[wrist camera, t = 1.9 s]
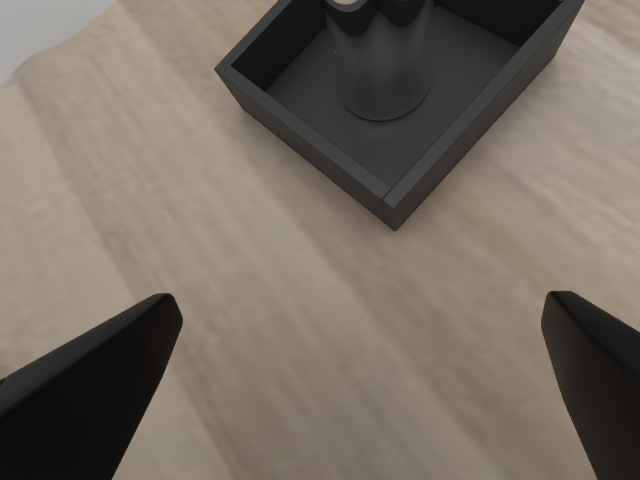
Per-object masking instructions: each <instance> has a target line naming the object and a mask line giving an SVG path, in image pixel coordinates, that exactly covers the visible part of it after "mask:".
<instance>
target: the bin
mask: <svg viewBox="0 0 640 480" xmlns="http://www.w3.org/2000/svg"><path fill="white" fill-rule="evenodd" d="M584 1H585V0H438V2H437V5H436V9H435V12H434V15H433V19H432V23H431V26H430V31H429V37H428V52H429V57H430V63H431V69H432V79H431V84H430V87H429V90H428V92H427V94H426V96H425V97H424V99H423V100H422V101H421V102H420V103H419V105H417V106H416V107H415V108H414V109H413V110H411V111H410V112H408V113H407V114H405V115H403V116H400V117H398V118H394V119H390V120H384V121H375V120H368V119H364V118H362V117H359V116H357V115H356V114H354V113H353V112H351V111H350V110H349V109H348V108H347V107H346V106H345V104H344V103H343V101H342V99H341V97H340V94H339V89H338V60H337V55H336V52H335V49H334V46H333V44H332V42H331V40H330V37H329V35H328V33H327V31H326V29H325V27H324V25H323V23H322V22H321V20H320V18H319V16H318V14H317V12H316V10H315V7H314V5H313V3H312V1H311V0H278V1H277V3H276V4H275V5H274V6H273V7H272V8H271V9H270V10H269V11H268V12H267V13H266V14H265V15H264V16H263V17H262V18H261V19H260V21H259V22H258V23H257V24H256V25H255V26H254V27H253V28H252V29H251V30H250V31H249V32H248V33H247V34H246V35H245V36H244V37H243V38H242V40H241V41H240V42H239V43H238V44H237V45H236V46H235V47H234V48H233V49H232V50H231V51H230V52H229V53H228V54H227V55H226V56H225V58H224V59H223V60H222V61H221V62H220V63H219V64H218V65H217V66H216V67H215V68H214V70H215V71H216V73H217V74H218V75H219V77H220V78H221V79H222V81H223V82H224V84H225V85H226V86H227V88H228V89H229V90H230V92H231V93H232V95H233V96H234V97H235V99H236V100H237V102H238V103H239V104H240V106H241V107H242V108H243V109H244V110H245V111H246V112H248V113H249V114H250V115H251V116H253V117H254V118H255V119H256V120H258V121H259V122H260V123H261V124H263V125H264V126H265V127H266V128H267V129H269V130H270V131H271V132H272V133H274V134H275V135H276V136H277V137H279V138H280V139H281V140H282V141H284V142H285V143H286V144H287V145H289V146H290V147H291V148H292V149H294V150H295V151H296V152H297V153H299V154H300V155H301V156H302V157H303V158H305V159H306V160H307V161H308V162H310V163H311V164H312V165H313V166H315V167H316V168H317V169H318V170H320V171H321V172H322V173H323V174H325V175H326V176H327V177H328V178H330V179H331V180H332V181H333V182H335V183H336V184H337V185H338V186H339V187H341V188H342V189H343V190H344V191H346V192H347V193H348V194H349V195H351V196H352V197H353V198H354V199H356V200H357V201H358V202H359V203H361V204H362V205H363V206H364V207H366V208H367V209H368V210H369V211H371V212H372V213H373V214H374V215H375V216H377V217H378V218H379V219H380V220H382V221H383V222H384V223H385V224H387V225H388V226H389V227H390V228H392V229H393V230H394V231H397V229H398V228H399V227H400V226H401V225H402V224H403V223H404V222H405V221H406V220H407V218H408V217H409V216H410V215H411V214H412V213H413V212H414V211H415V210H416V208H417V207H418V206H419V205H420V204H421V203H422V202H423V201H424V200H425V199H426V197H427V196H428V195H429V194H430V193H431V192H432V191H433V190H434V189H435V188H436V186H437V185H438V184H439V183H440V182H441V181H442V180H443V179H444V178H445V177H446V175H447V174H448V173H449V172H450V171H451V170H452V169H453V168H454V167H455V165H456V164H457V163H458V162H459V161H460V160H461V159H462V158H463V157H464V156H465V154H466V153H467V152H468V151H469V150H470V149H471V148H472V147H473V146H474V145H475V143H476V142H477V141H478V140H479V139H480V138H481V137H482V136H483V135H484V134H485V132H486V131H487V130H488V129H489V128H490V127H491V126H492V125H493V124H494V122H495V121H496V120H497V119H498V118H499V117H500V116H501V115H502V114H503V113H504V111H505V110H506V109H507V108H508V107H509V106H510V105H511V104H512V103H513V102H514V100H515V99H516V98H517V97H518V96H519V95H520V94H521V93H522V92H523V91H524V89H525V88H526V87H527V86H528V85H529V84H530V83H531V82H532V81H533V79H534V78H535V77H536V76H537V75H538V74H539V73H540V72H541V71H542V70H543V68H544V67H545V66H546V65H547V64H548V63H549V62H550V61H551V60H552V59H553V57H554V56H555V54H556V52H557V50H558V48H559V47H560V45H561V43H562V41H563V39H564V37H565V36H566V34H567V32H568V30H569V28H570V26H571V25H572V23H573V21H574V19H575V17H576V16H577V14H578V12H579V10H580V8H581V6H582V5H583V3H584Z"/></svg>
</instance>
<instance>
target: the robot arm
mask: <svg viewBox="0 0 640 480" xmlns="http://www.w3.org/2000/svg"><path fill="white" fill-rule="evenodd" d="M182 324H183V317H182V314H181V312H180V310H179V307H178V305H177V303H176V301H175V298H174V297H173V296H172V295H171V294H169V293H158V294H154V295H152V296H150V297H149V298H147V299H145V300H143V301H141V302H140V303H138V304H136V305H134V306H132V307H131V308H129V309H127V310H125V311H123V312H122V313H120V314H118V315H116V316H114V317H113V318H111V319H109V320H107V321H105V322H104V323H102V324H100V325H98V326H96V327H95V328H93V329H91V330H89V331H87V332H86V333H84V334H82V335H80V336H78V337H77V338H75V339H73V340H71V341H69V342H68V343H66V344H64V345H62V346H60V347H59V348H57V349H55V350H53V351H51V352H50V353H48V354H46V355H44V356H42V357H41V358H39V359H37V360H35V361H33V362H32V363H30V364H28V365H26V366H24V367H23V368H21V369H19V370H17V371H16V372H14V373H12V374H10V375H8V376H7V378H3V379H1V380H0V480H112V478H113V476H114V474H115V472H116V470H117V468H118V466H119V464H120V462H121V460H122V458H123V456H124V454H125V452H126V450H127V448H128V446H129V444H130V442H131V440H132V438H133V436H134V434H135V432H136V430H137V428H138V426H139V424H140V422H141V420H142V417H143V415H144V413H145V411H146V409H147V407H148V405H149V403H150V401H151V399H152V397H153V395H154V393H155V391H156V389H157V387H158V385H159V383H160V381H161V379H162V377H163V374H164V372H165V369H166V367H167V364H168V361H169V359H170V356H171V354H172V351H173V348H174V346H175V343H176V340H177V338H178V335H179V333H180V330H181V327H182ZM541 328H542V333H543V336H544V339H545V343H546V346H547V349H548V353H549V356H550V359H551V363H552V366H553V369H554V372H555V376H556V379H557V382H558V386H559V389H560V392H561V395H562V398H563V400H564V403H565V405H566V408H567V410H568V413H569V415H570V417H571V420H572V422H573V424H574V426H575V429H576V431H577V433H578V436H579V438H580V440H581V443H582V445H583V447H584V449H585V452H586V454H587V456H588V459H589V461H590V463H591V466H592V468H593V470H594V473H595V475H596V477H597V479H598V480H640V332H639V331H637V330H635V329H634V328H632V327H630V326H629V325H627V324H625V323H624V322H622V321H620V320H619V319H617V318H615V317H614V316H612V315H610V314H609V313H607V312H605V311H604V310H602V309H600V308H599V307H597V306H596V305H594V304H592V303H591V302H589V301H587V300H586V299H584V298H582V297H581V296H579V295H577V294H576V293H574V292H572V291H550V292H549V293H548V294H547V296H546V300H545V305H544V309H543V314H542V319H541Z"/></svg>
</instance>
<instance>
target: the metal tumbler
mask: <svg viewBox="0 0 640 480" xmlns="http://www.w3.org/2000/svg"><path fill="white" fill-rule="evenodd" d="M311 1H312V3H313V5H314V7H315V10H316V12H317V14H318V16H319V18H320V20H321V22H322V23H323V25H324V27H325V29H326V31H327V33H328V35H329V37H330V40H331V42H332V44H333V46H334V49H335V52H336V55H337V60H338V89H339V94H340V97H341V99H342V101H343V103H344V104H345V106H346V107H347V108H348V109H349V110H350V111H351V112H353V113H354V114H356V115H357V116H359V117H362V118H364V119H368V120H375V121H384V120H390V119H394V118H398V117H400V116H403V115H405V114H407V113H408V112H410V111H411V110H413V109H414V108H415V107H416V106H417V105H419V103H420V102H421V101H422V100H423V99H424V97H425V96H426V94H427V92H428V90H429V87H430V84H431V79H432V69H431V63H430V57H429V52H428V37H429V31H430V26H431V23H432V19H433V15H434V12H435V9H436V5H437V2H438V0H311Z"/></svg>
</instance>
